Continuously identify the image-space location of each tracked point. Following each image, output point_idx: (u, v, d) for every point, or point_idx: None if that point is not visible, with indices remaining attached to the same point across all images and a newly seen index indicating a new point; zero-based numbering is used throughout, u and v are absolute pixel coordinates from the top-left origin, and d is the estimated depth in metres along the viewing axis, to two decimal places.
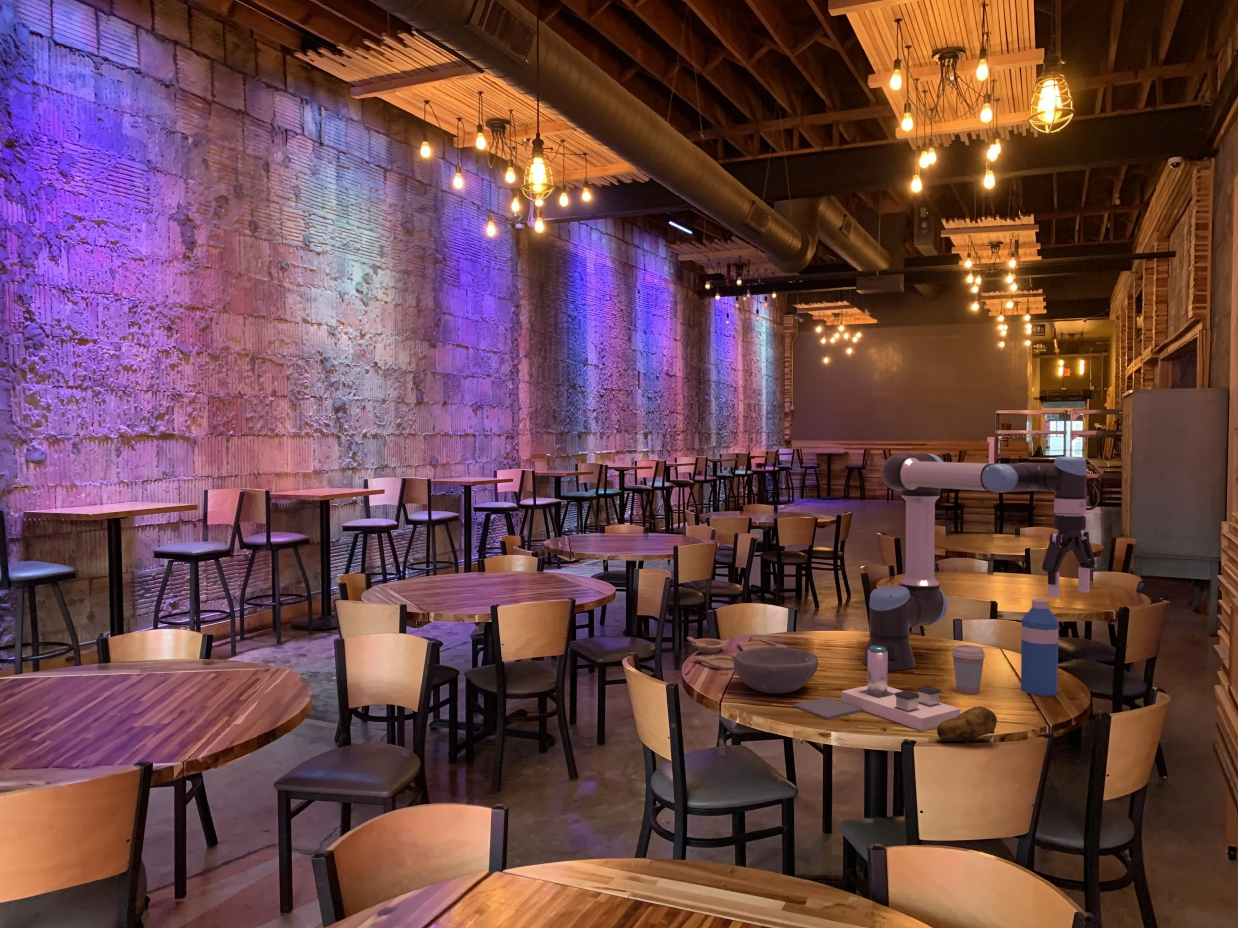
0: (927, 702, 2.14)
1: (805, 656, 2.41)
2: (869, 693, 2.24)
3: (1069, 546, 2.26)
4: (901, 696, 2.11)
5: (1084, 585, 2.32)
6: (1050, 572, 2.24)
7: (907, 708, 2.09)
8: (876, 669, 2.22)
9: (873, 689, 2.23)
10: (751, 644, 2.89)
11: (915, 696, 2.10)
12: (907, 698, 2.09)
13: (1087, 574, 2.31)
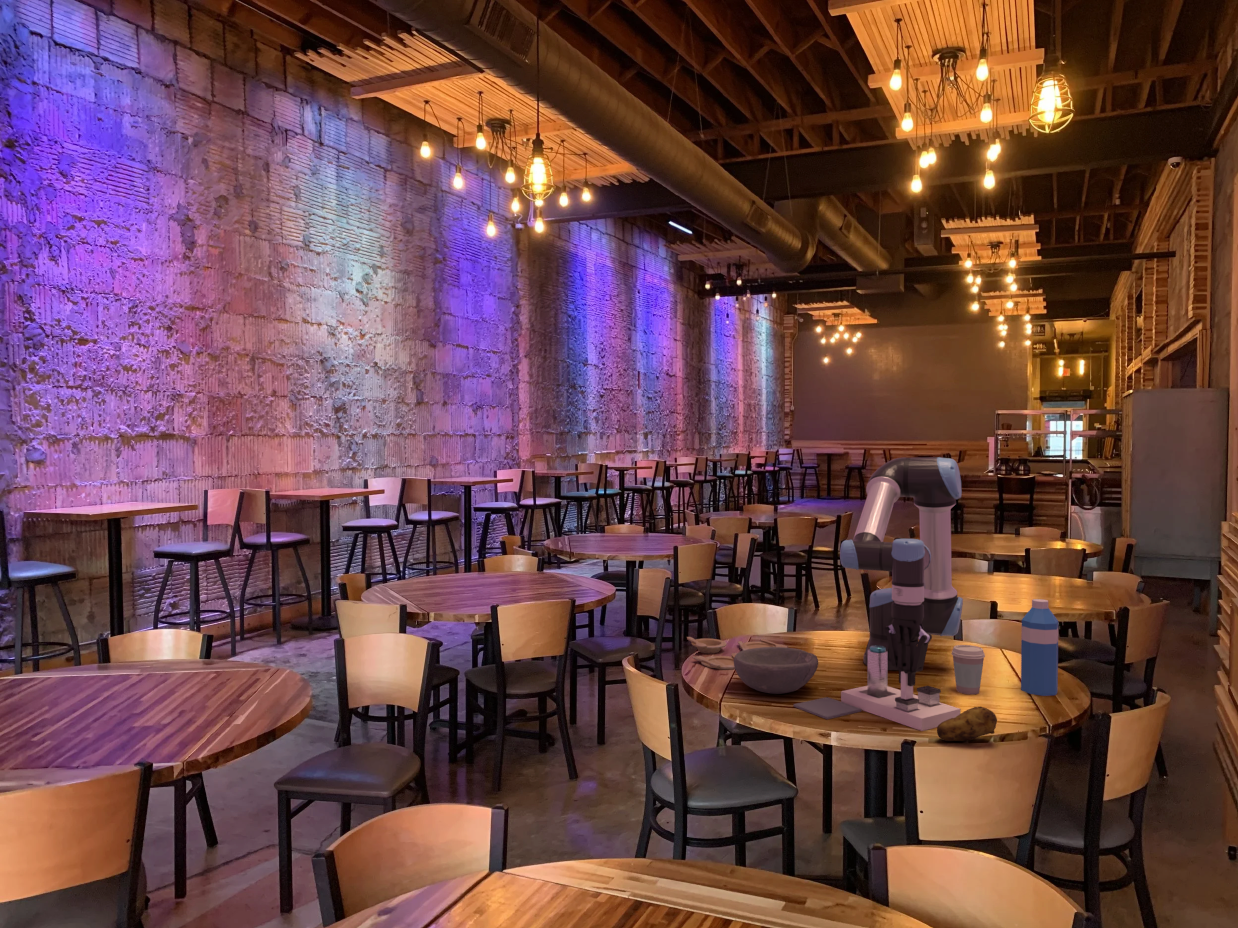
0: (927, 702, 2.14)
1: (805, 656, 2.41)
2: (869, 693, 2.24)
3: (898, 637, 2.11)
4: (901, 701, 2.11)
5: None
6: None
7: None
8: (876, 669, 2.22)
9: (873, 689, 2.23)
10: (751, 644, 2.89)
11: (915, 701, 2.10)
12: (907, 703, 2.09)
13: None
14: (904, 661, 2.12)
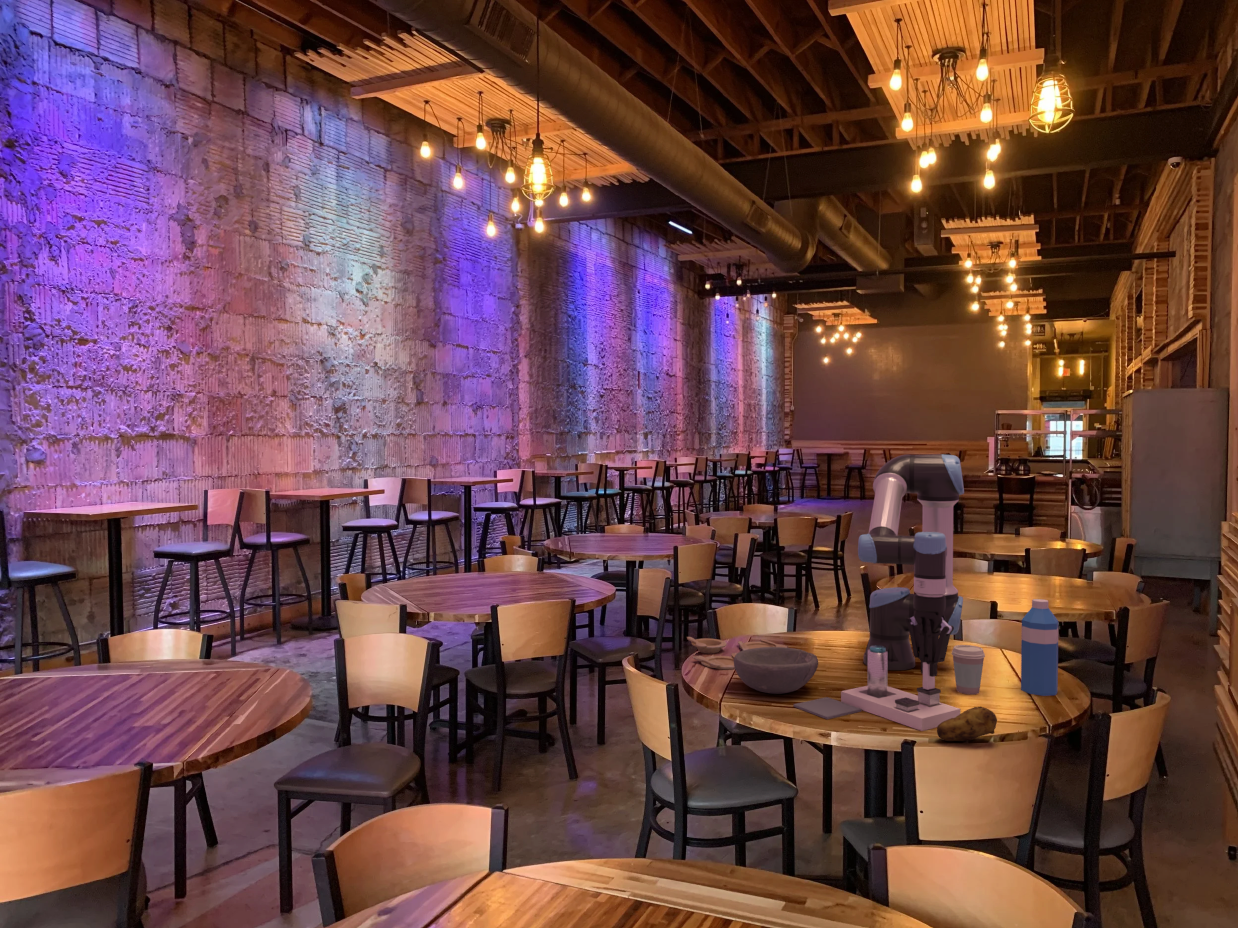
0: (927, 702, 2.14)
1: (805, 656, 2.41)
2: (869, 693, 2.24)
3: (920, 628, 2.16)
4: (901, 703, 2.11)
5: None
6: None
7: None
8: (876, 669, 2.22)
9: (873, 689, 2.23)
10: (751, 644, 2.89)
11: (915, 703, 2.10)
12: (907, 705, 2.09)
13: None
14: (926, 652, 2.16)
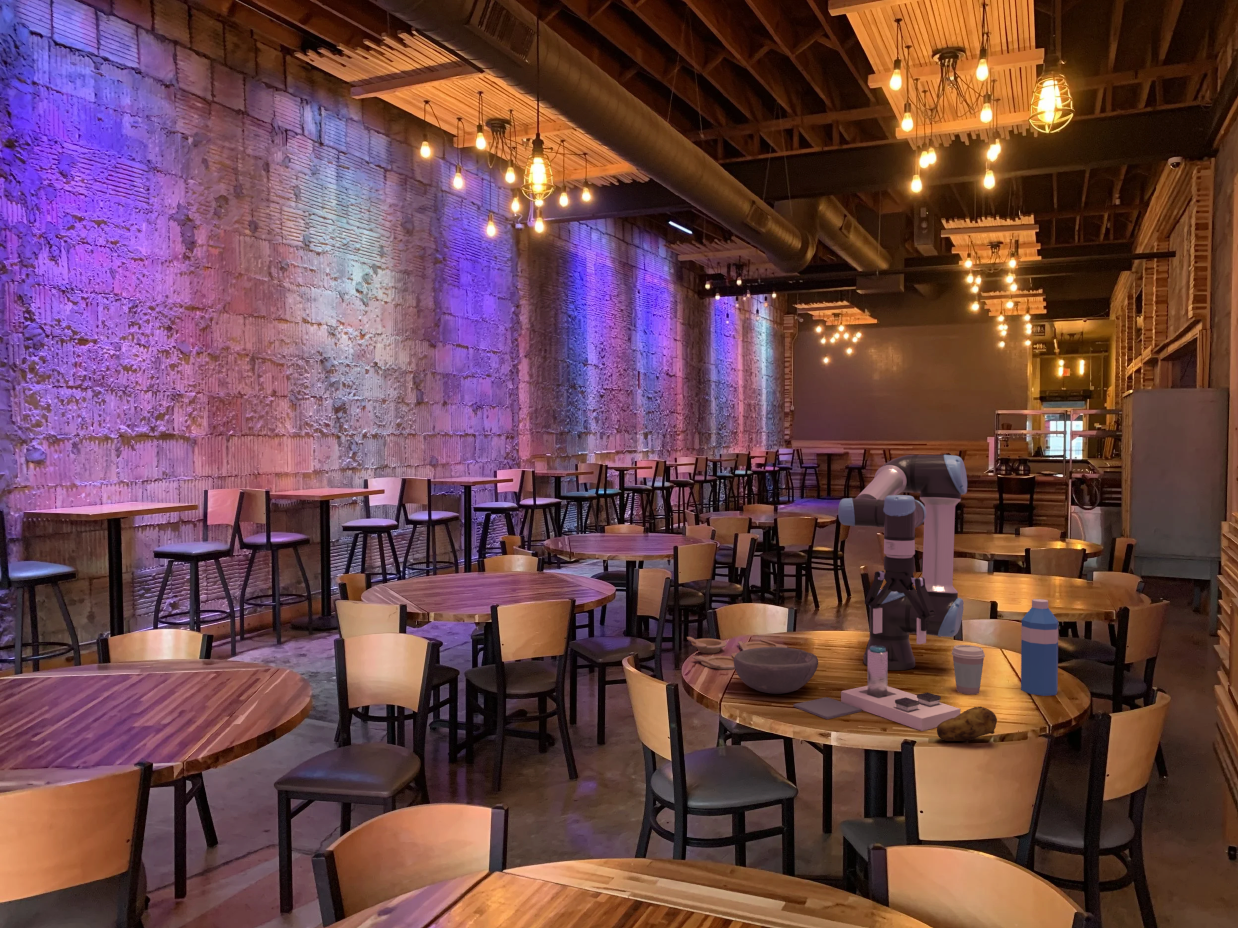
0: None
1: (805, 656, 2.41)
2: (869, 693, 2.24)
3: (885, 586, 2.22)
4: (901, 703, 2.11)
5: None
6: None
7: None
8: (876, 669, 2.22)
9: (873, 689, 2.23)
10: (751, 644, 2.89)
11: (915, 703, 2.10)
12: (907, 705, 2.09)
13: None
14: (879, 602, 2.26)
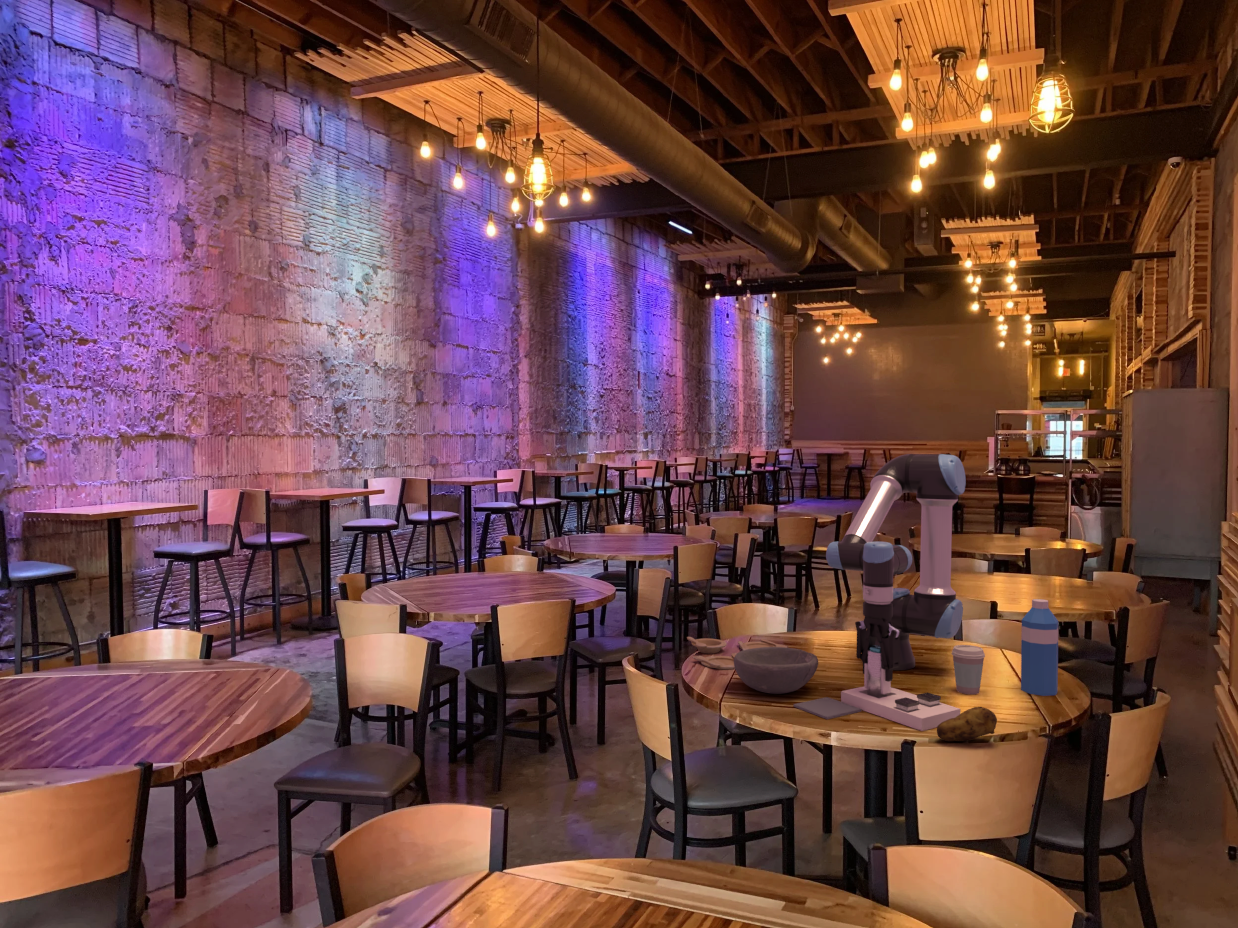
0: None
1: (805, 656, 2.41)
2: (869, 693, 2.24)
3: (867, 633, 2.25)
4: (901, 703, 2.11)
5: None
6: None
7: None
8: (876, 669, 2.22)
9: (873, 689, 2.23)
10: (751, 644, 2.89)
11: (915, 703, 2.10)
12: (907, 705, 2.09)
13: None
14: None
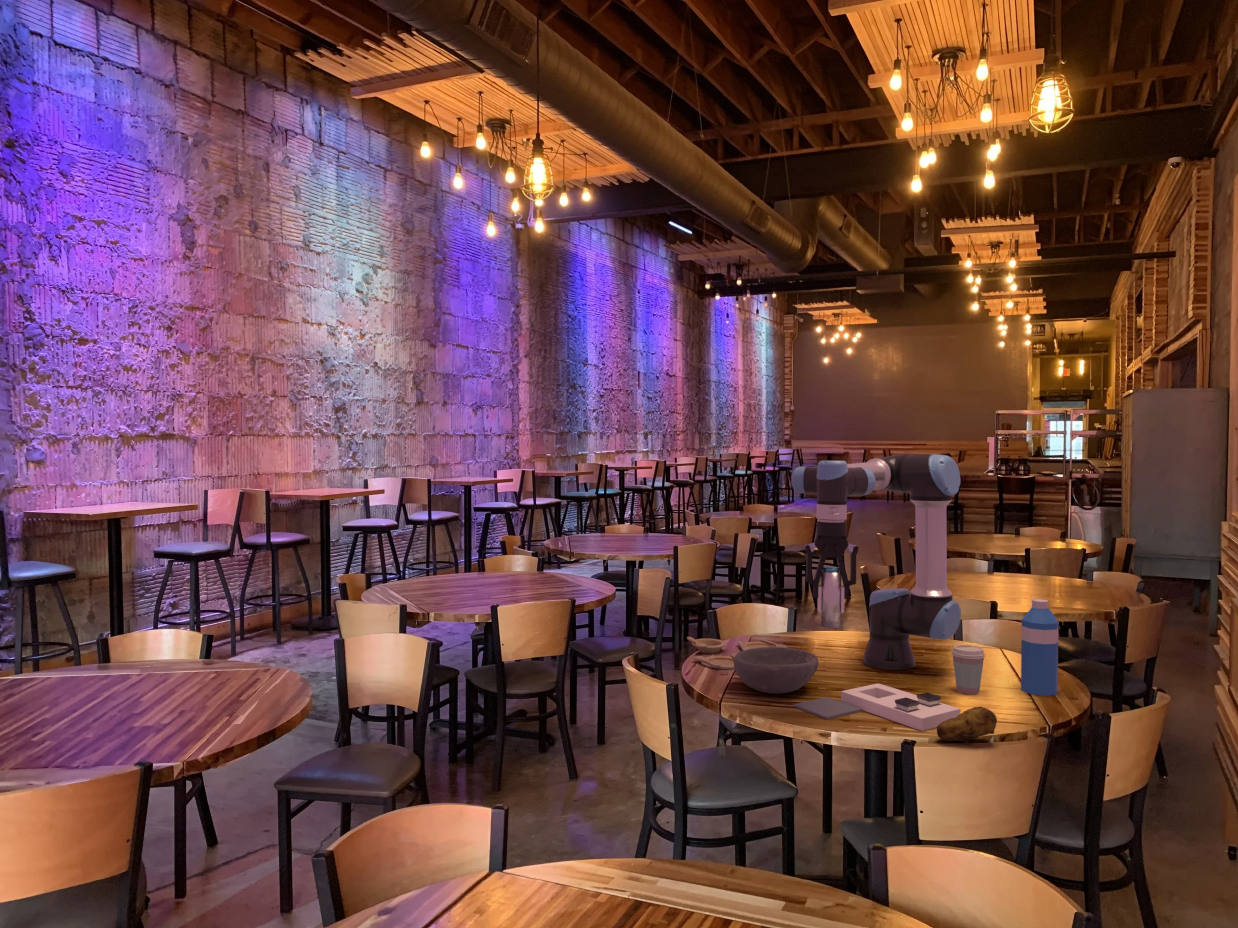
0: None
1: (805, 656, 2.41)
2: (829, 615, 2.18)
3: (824, 554, 2.19)
4: (901, 703, 2.11)
5: None
6: (813, 585, 2.21)
7: None
8: (837, 588, 2.18)
9: (834, 610, 2.18)
10: (751, 644, 2.89)
11: (915, 703, 2.10)
12: (907, 705, 2.09)
13: (841, 593, 2.19)
14: None
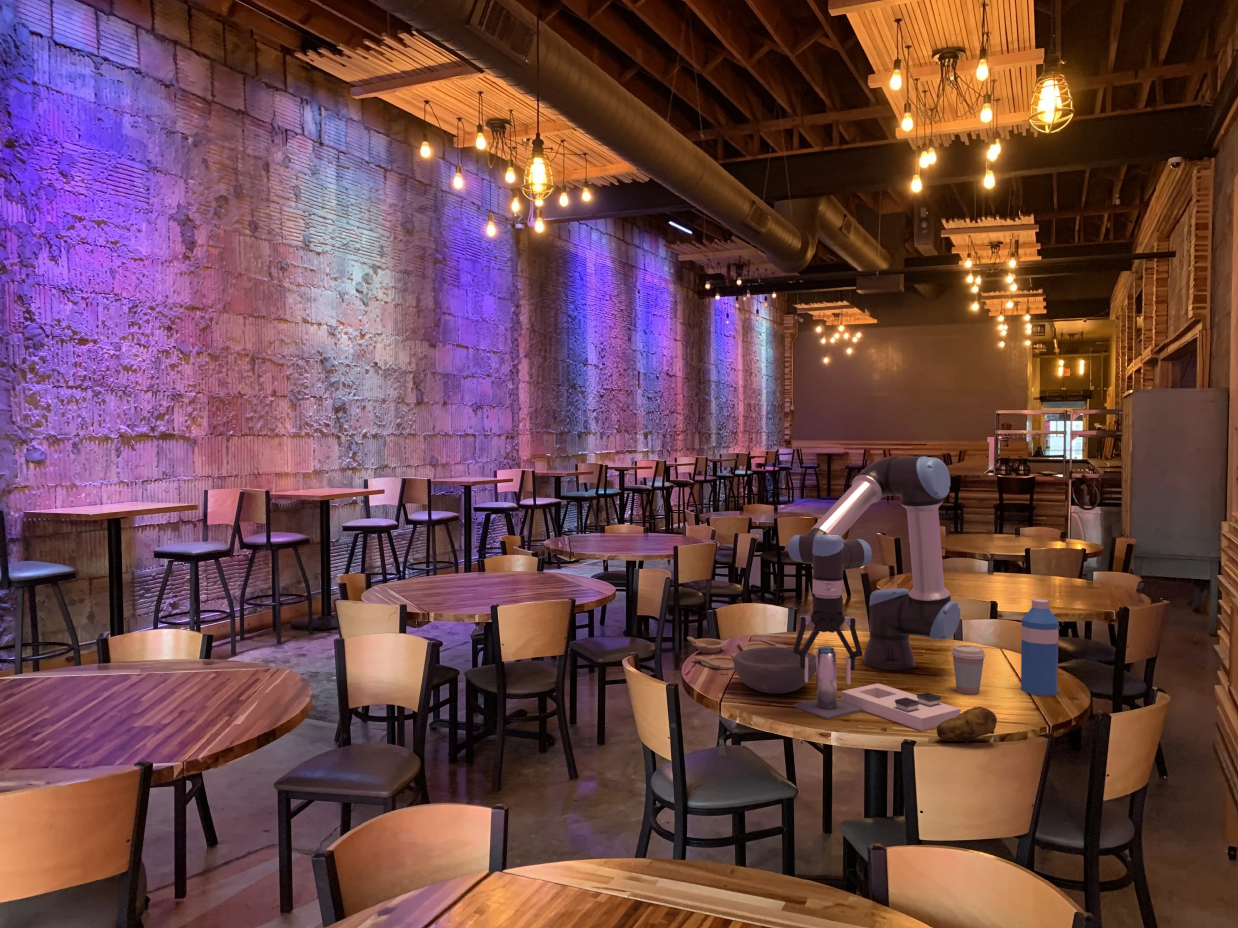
0: None
1: None
2: (825, 696, 2.19)
3: (818, 629, 2.19)
4: (901, 703, 2.11)
5: None
6: (799, 655, 2.22)
7: None
8: (832, 670, 2.19)
9: (830, 691, 2.19)
10: (751, 644, 2.89)
11: (915, 703, 2.10)
12: (907, 705, 2.09)
13: (847, 664, 2.19)
14: None
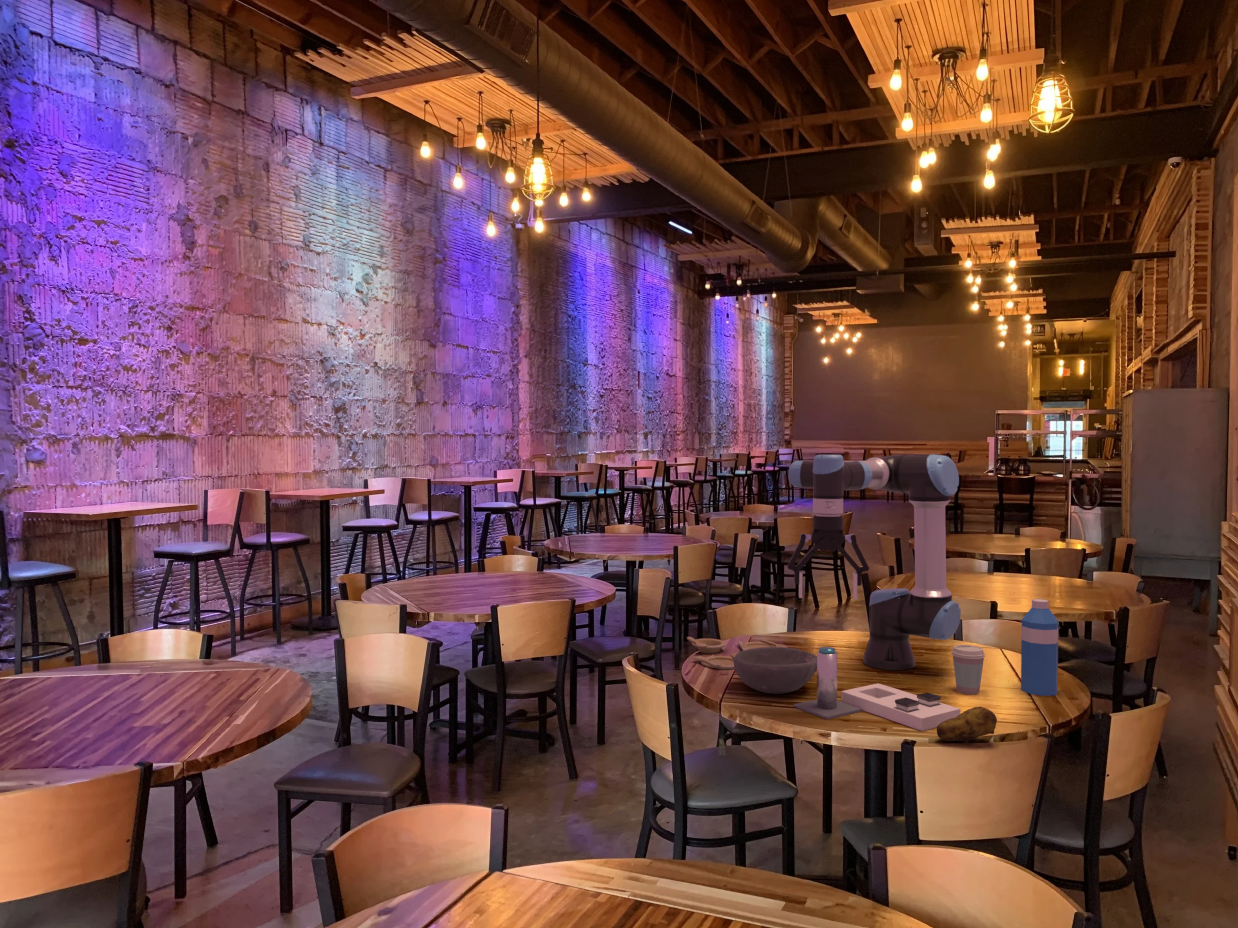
0: None
1: (805, 656, 2.41)
2: (825, 697, 2.19)
3: (817, 547, 2.19)
4: (901, 703, 2.11)
5: (853, 591, 2.19)
6: (794, 571, 2.21)
7: None
8: (833, 670, 2.19)
9: (830, 692, 2.19)
10: (751, 644, 2.89)
11: (915, 703, 2.10)
12: (907, 705, 2.09)
13: (854, 579, 2.18)
14: None
